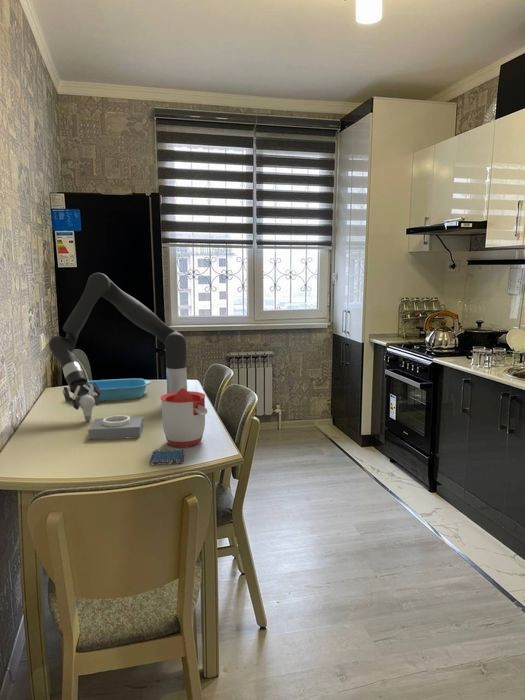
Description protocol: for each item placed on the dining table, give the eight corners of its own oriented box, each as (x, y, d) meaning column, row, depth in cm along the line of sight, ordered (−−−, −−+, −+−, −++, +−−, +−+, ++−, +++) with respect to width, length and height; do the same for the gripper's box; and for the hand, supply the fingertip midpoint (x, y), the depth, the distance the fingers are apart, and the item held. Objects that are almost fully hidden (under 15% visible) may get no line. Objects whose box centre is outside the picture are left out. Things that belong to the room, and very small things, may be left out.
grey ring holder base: (143, 426, 195) (142, 412, 195) (139, 437, 182) (139, 422, 181) (96, 428, 193) (95, 414, 192) (89, 440, 179) (88, 425, 178)
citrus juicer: (191, 454, 164) (189, 395, 161) (153, 444, 174) (150, 389, 171) (219, 440, 178) (218, 386, 175) (182, 432, 187) (180, 381, 184)
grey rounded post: (81, 424, 199) (79, 397, 197) (79, 420, 204) (77, 394, 202) (97, 422, 201) (95, 395, 200) (94, 418, 207) (93, 392, 205)
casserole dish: (149, 389, 260) (148, 376, 259) (152, 399, 239) (152, 384, 238) (74, 394, 250) (73, 381, 249) (71, 405, 229) (70, 390, 227)
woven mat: (183, 466, 155) (183, 459, 155) (149, 467, 154) (148, 461, 154) (185, 454, 166) (185, 448, 165) (153, 455, 165) (153, 449, 164)
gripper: (59, 372, 201) (73, 404, 194) (93, 367, 210) (107, 398, 204) (55, 383, 205) (68, 415, 199) (88, 378, 215) (101, 408, 208)
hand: (88, 406), depth 201 cm, fingers open, 8 cm apart
